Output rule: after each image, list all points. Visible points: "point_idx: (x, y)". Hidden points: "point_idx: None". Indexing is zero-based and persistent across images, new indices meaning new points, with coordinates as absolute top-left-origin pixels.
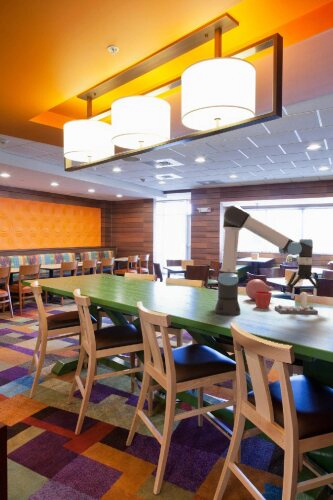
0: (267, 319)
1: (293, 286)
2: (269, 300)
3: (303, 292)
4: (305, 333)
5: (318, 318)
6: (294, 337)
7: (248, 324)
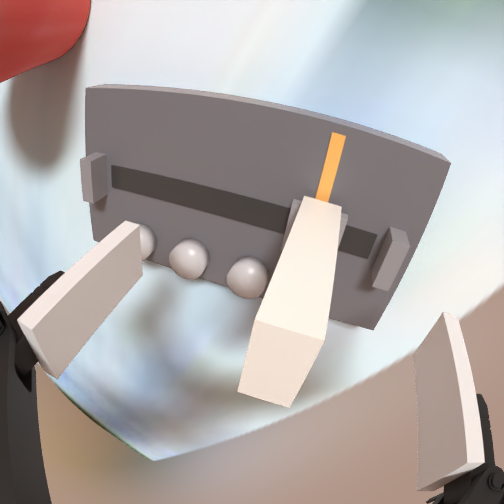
0: None
1: (34, 388)
2: (29, 56)
3: (277, 348)
4: (141, 426)
5: None
6: (113, 422)
7: None
